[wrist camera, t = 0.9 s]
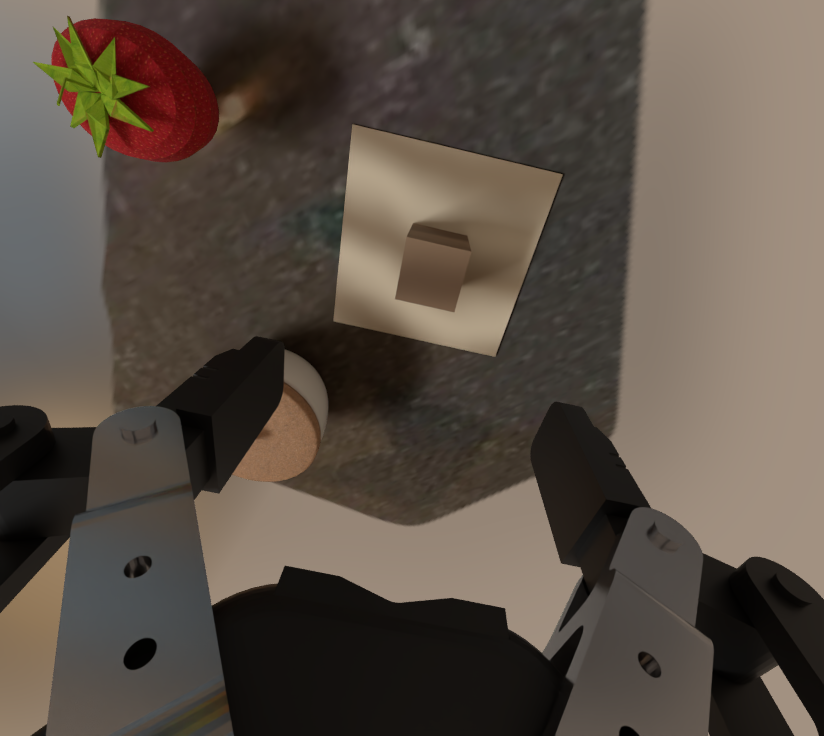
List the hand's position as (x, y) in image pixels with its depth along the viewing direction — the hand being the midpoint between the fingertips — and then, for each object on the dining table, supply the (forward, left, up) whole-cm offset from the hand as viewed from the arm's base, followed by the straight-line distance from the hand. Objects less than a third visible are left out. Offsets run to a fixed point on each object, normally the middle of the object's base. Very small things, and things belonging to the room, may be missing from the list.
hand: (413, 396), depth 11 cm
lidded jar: (+14, -11, -19) cm, 26 cm away
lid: (0, 0, -20) cm, 20 cm away
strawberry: (-6, -17, -19) cm, 26 cm away
